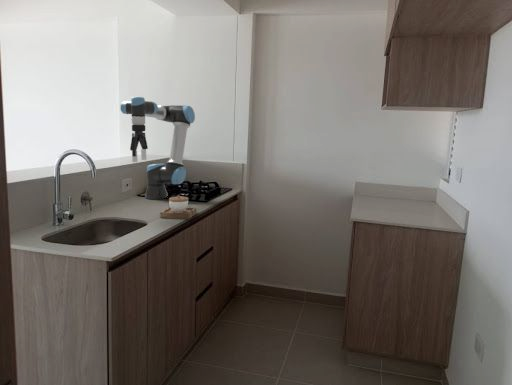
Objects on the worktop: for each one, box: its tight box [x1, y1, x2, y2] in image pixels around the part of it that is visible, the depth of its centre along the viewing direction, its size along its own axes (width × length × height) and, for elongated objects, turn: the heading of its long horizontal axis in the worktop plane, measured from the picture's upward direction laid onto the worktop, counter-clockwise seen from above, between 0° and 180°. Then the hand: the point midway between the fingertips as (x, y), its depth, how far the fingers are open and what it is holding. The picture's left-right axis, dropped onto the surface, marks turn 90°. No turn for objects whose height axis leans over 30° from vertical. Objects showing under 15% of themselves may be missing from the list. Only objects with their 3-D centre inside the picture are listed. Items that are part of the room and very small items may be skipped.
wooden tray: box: [159, 206, 197, 220], centre depth 238 cm, size 16×16×3 cm
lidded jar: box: [168, 194, 189, 213], centre depth 237 cm, size 11×11×9 cm
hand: (139, 161), depth 248 cm, fingers open, 13 cm apart
